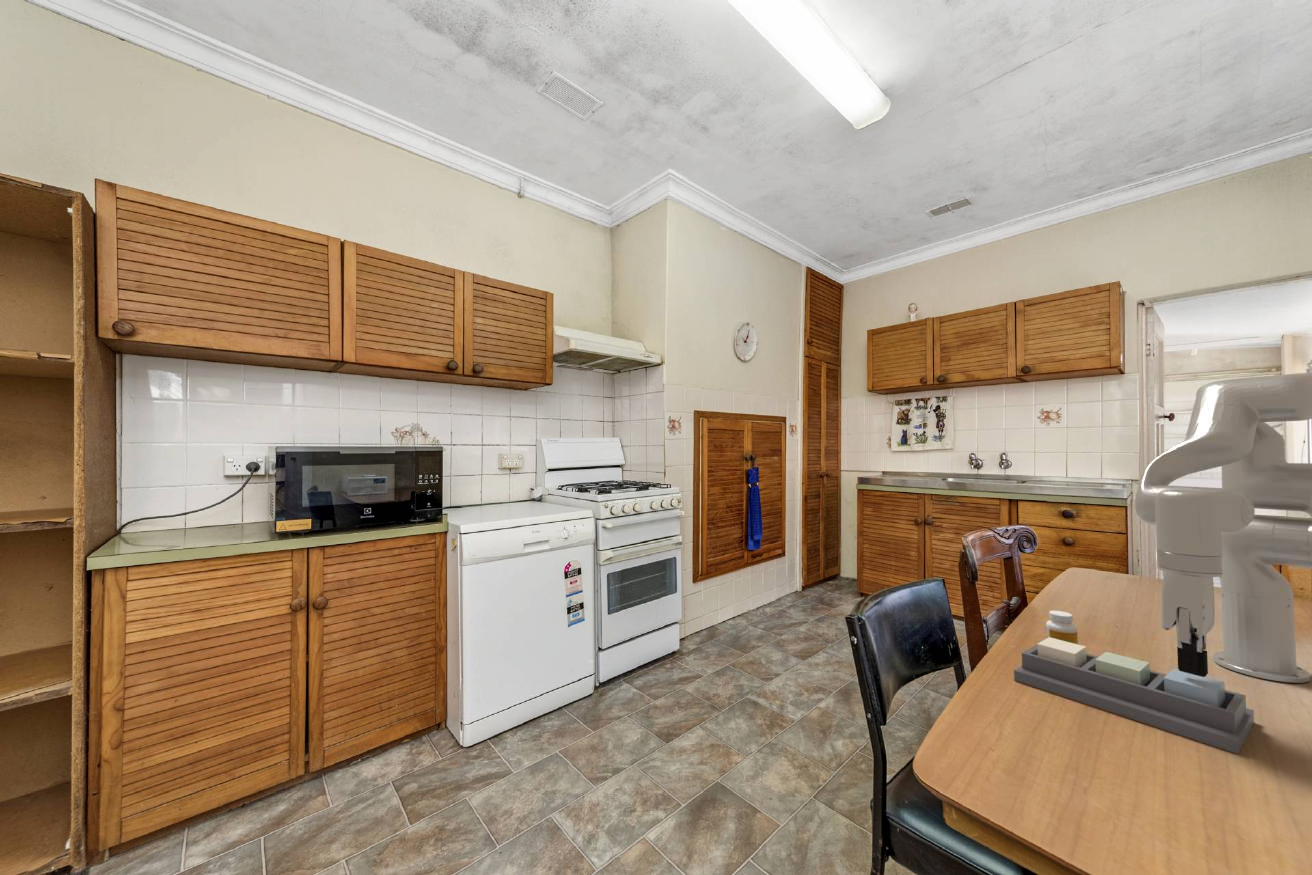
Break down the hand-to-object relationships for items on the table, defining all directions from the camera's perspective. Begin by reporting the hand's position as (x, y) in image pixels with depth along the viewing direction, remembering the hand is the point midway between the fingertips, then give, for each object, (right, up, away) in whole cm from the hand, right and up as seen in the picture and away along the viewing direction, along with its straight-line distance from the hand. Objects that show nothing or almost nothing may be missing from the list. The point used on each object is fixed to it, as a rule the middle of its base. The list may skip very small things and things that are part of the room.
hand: (1192, 672), depth 83 cm
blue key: (0, -4, 0) cm, 4 cm away
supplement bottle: (-1, -9, +25) cm, 27 cm away
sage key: (-5, -5, +7) cm, 10 cm away
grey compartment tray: (-5, -9, +7) cm, 12 cm away
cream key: (-10, -5, +15) cm, 18 cm away
